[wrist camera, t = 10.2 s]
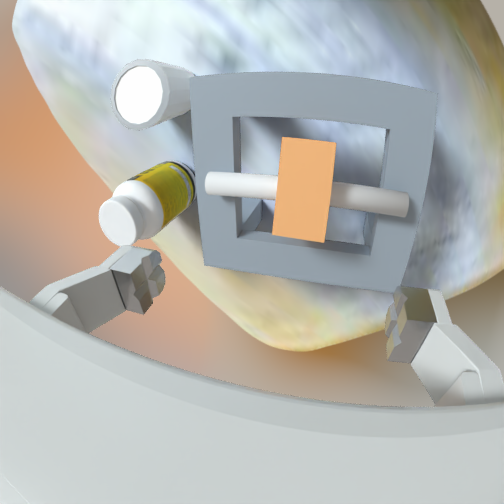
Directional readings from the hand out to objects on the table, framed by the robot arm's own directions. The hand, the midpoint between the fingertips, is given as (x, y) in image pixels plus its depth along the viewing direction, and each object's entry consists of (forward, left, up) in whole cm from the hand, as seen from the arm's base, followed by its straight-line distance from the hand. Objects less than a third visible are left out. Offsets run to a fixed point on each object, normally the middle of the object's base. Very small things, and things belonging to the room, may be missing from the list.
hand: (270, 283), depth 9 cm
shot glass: (-7, -15, -21) cm, 27 cm away
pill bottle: (+4, -16, -21) cm, 27 cm away
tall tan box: (+2, 0, -15) cm, 15 cm away
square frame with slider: (0, 0, -21) cm, 21 cm away
